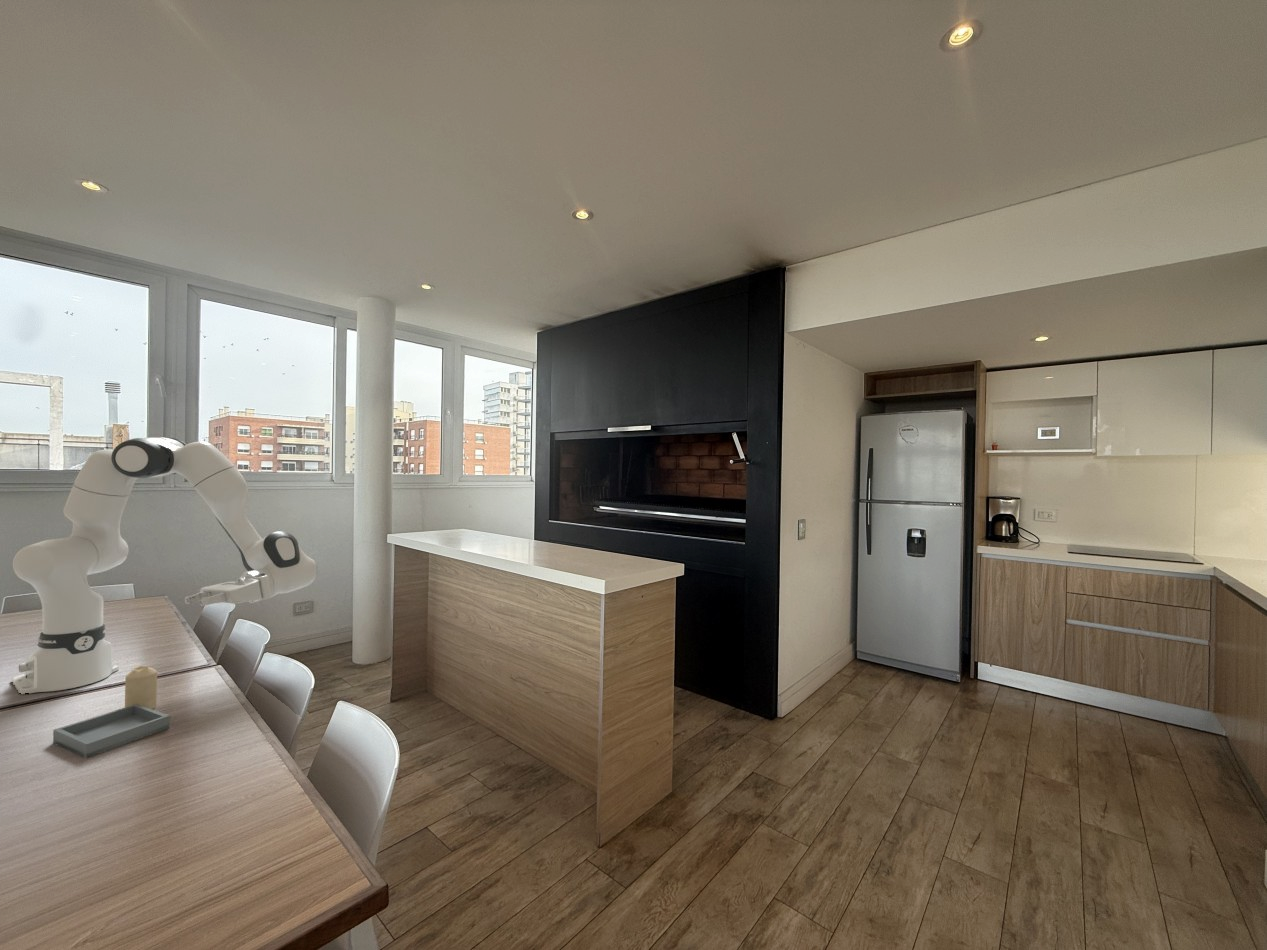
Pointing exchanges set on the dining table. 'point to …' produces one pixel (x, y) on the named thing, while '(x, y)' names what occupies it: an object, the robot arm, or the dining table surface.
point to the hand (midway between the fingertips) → (193, 601)
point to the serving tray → (110, 730)
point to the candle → (141, 687)
